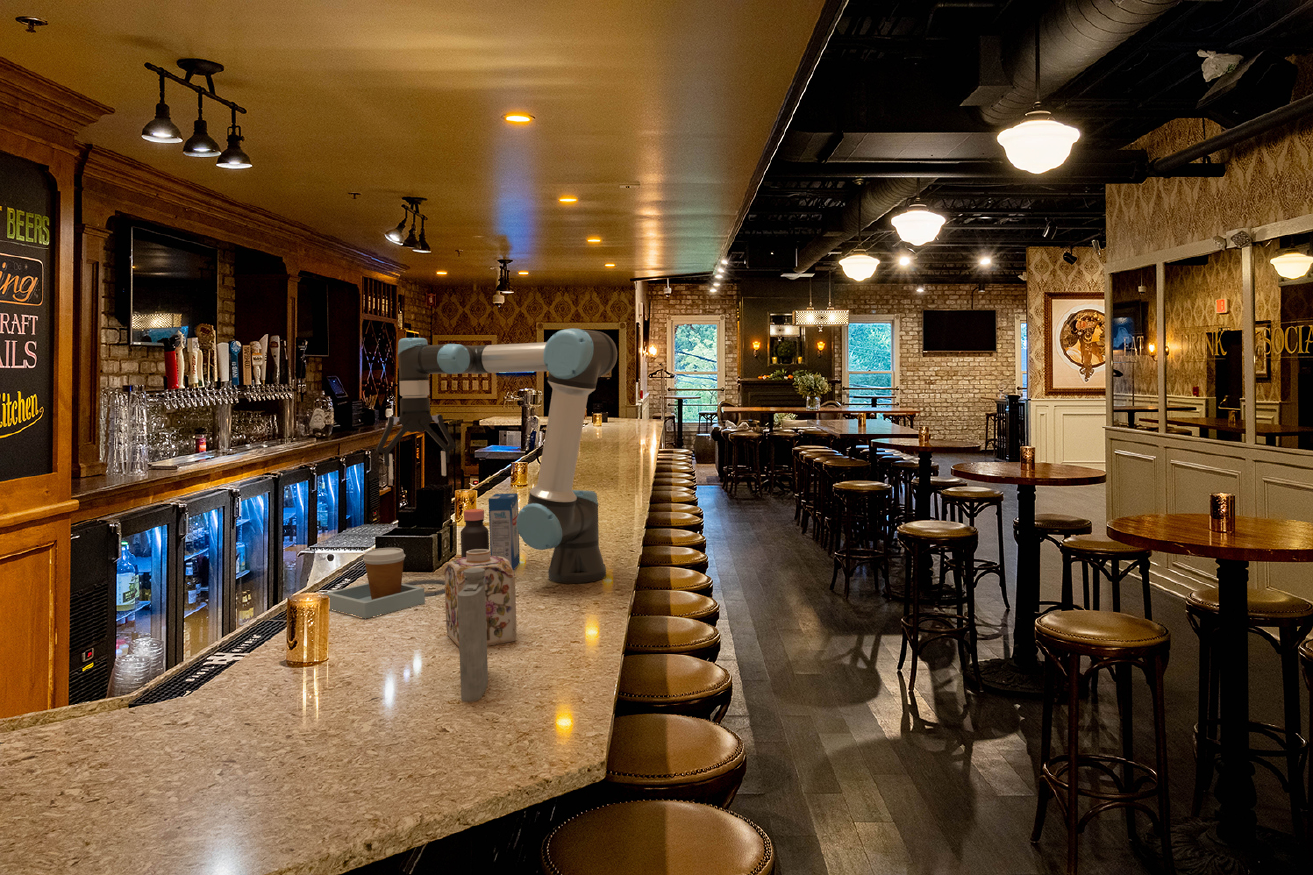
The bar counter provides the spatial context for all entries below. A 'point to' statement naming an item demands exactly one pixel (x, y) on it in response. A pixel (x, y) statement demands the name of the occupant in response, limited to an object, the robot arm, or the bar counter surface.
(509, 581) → the decorative jar
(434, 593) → the collar
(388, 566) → the disposable coffee cup
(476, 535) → the bottle
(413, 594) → the bin
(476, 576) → the hip flask
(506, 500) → the milk carton
